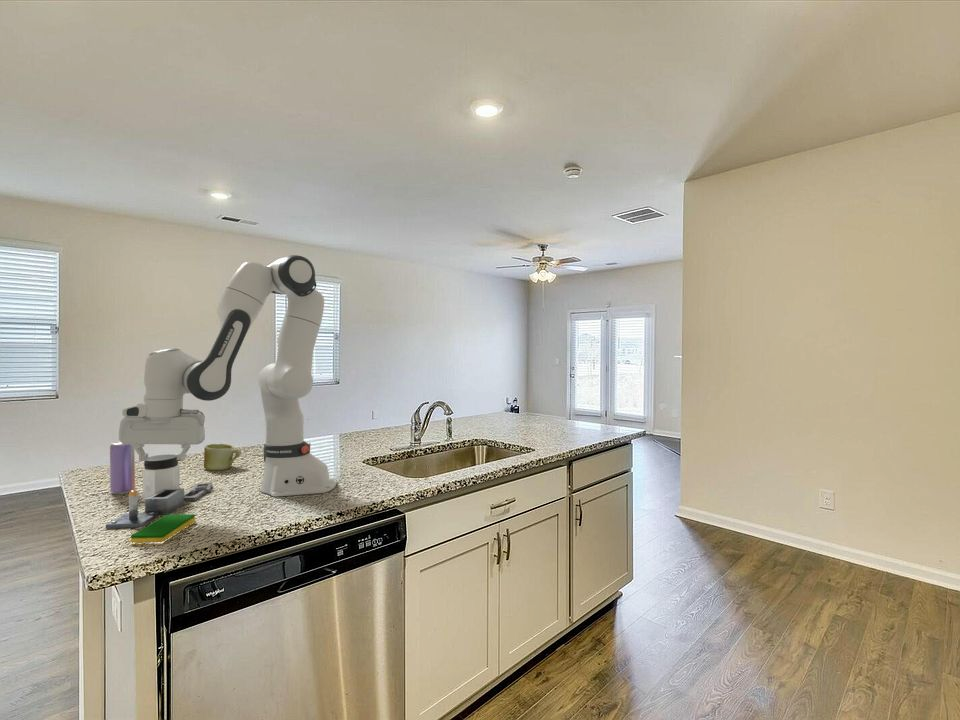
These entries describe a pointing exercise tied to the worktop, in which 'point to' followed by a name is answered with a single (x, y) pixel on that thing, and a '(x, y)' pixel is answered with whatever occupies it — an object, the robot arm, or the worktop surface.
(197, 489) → the chain tail
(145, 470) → the jar
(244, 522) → the worktop surface
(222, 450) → the mug
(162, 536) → the dish sponge
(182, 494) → the link
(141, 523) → the keeper
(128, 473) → the beverage can
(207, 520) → the worktop surface
